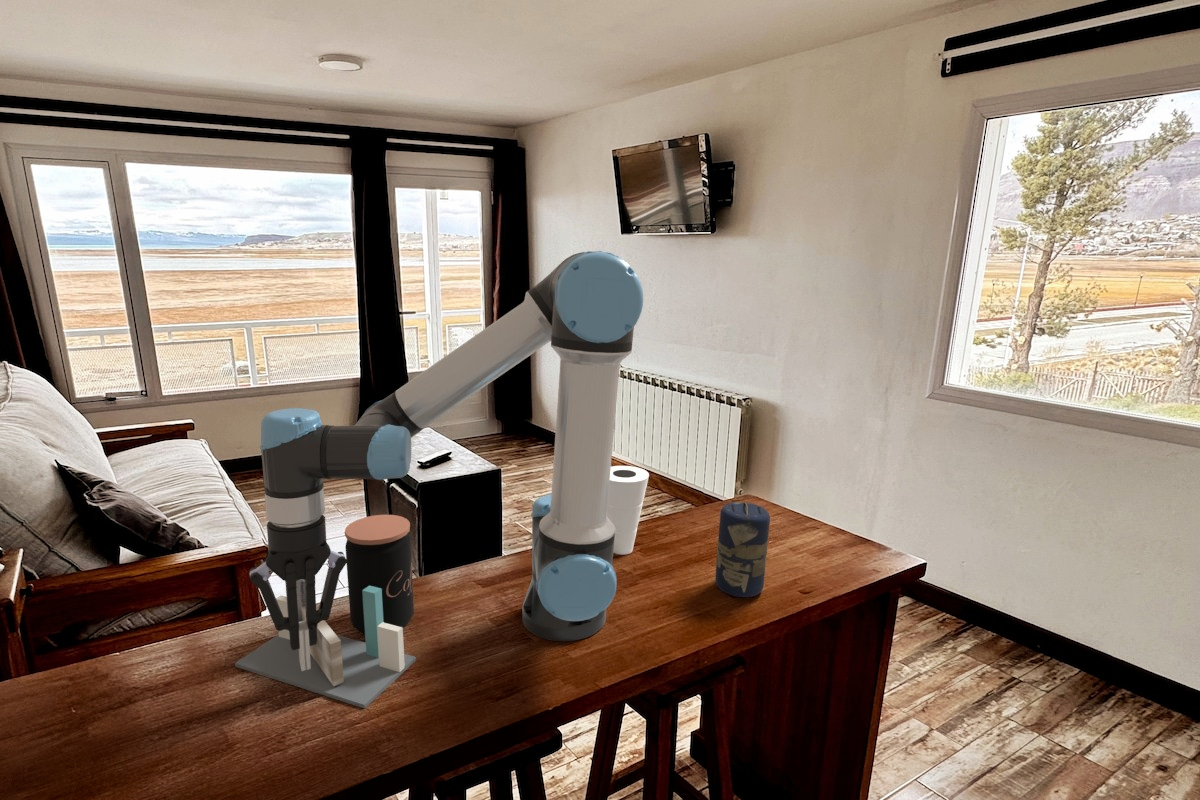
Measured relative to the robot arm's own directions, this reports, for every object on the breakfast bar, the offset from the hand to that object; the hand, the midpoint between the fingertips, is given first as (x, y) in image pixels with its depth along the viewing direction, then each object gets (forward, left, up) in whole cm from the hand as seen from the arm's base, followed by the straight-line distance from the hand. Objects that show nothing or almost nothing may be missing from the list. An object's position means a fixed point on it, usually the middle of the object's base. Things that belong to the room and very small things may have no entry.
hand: (305, 664), depth 95 cm
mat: (+1, -5, -3) cm, 6 cm away
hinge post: (+7, -7, -3) cm, 11 cm away
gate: (0, -4, -2) cm, 4 cm away
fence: (+1, -7, -3) cm, 8 cm away
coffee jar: (+1, -18, -3) cm, 18 cm away
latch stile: (-5, -9, -3) cm, 11 cm away
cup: (-30, -61, -3) cm, 68 cm away
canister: (-57, -54, -3) cm, 79 cm away
